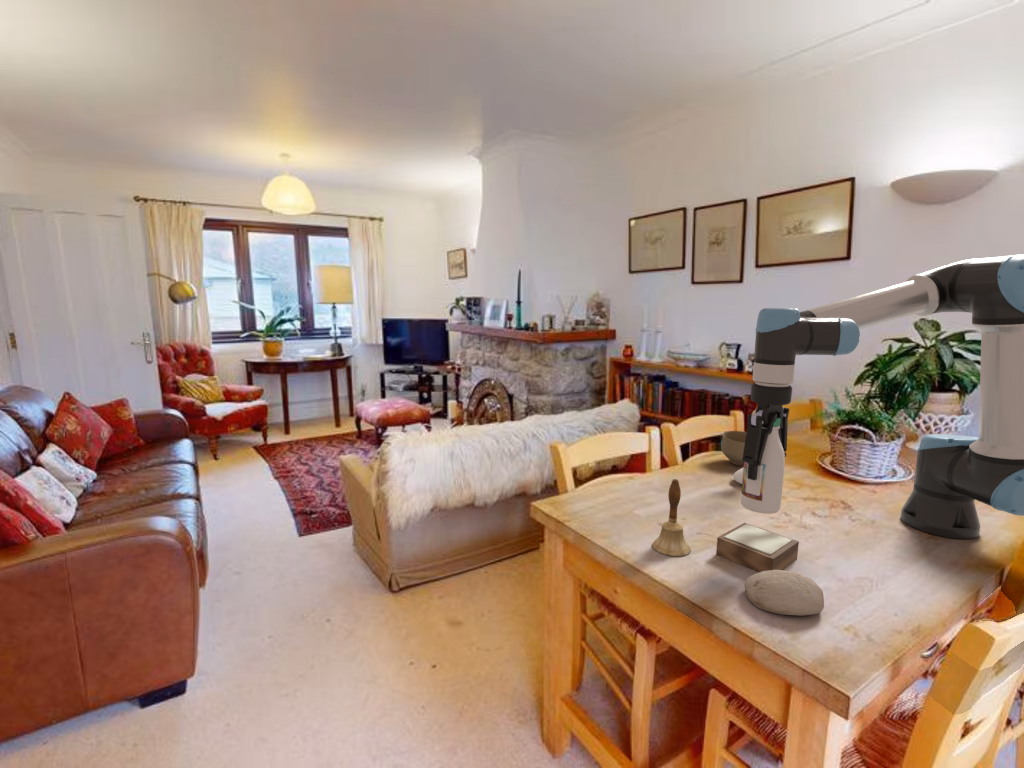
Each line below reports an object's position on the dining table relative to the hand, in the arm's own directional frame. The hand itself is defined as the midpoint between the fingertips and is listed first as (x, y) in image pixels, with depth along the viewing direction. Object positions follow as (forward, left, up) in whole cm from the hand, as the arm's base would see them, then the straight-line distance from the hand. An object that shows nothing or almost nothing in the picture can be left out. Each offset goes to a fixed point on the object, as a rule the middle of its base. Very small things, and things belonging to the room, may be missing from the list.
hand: (762, 488), depth 109 cm
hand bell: (+14, +11, -16) cm, 24 cm away
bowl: (+34, -59, -16) cm, 70 cm away
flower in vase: (+21, -43, -16) cm, 50 cm away
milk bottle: (0, 0, -4) cm, 4 cm away
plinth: (0, 0, -16) cm, 16 cm away
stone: (-11, +13, -16) cm, 24 cm away
